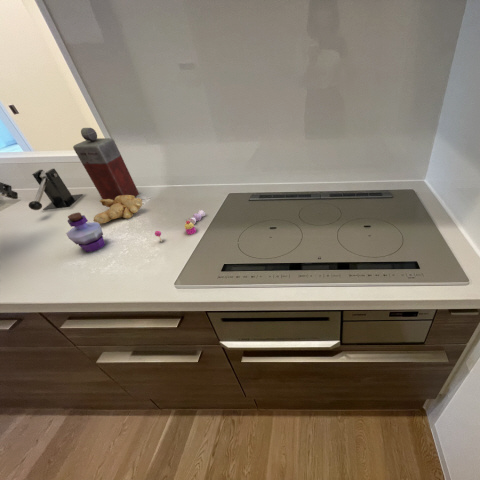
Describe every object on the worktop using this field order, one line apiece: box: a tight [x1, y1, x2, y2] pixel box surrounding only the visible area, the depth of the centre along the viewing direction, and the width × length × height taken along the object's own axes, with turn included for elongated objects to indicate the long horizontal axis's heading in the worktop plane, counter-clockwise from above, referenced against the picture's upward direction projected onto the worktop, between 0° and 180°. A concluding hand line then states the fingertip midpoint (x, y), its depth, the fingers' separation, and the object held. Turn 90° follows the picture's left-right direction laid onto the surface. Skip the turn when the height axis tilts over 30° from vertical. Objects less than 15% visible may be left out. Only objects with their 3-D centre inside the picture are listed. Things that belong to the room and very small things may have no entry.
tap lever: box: [28, 170, 50, 211], centre depth 96 cm, size 17×3×3 cm, turn 13°
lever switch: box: [31, 168, 84, 211], centre depth 102 cm, size 11×9×14 cm
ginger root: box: [92, 195, 143, 225], centre depth 97 cm, size 16×16×8 cm
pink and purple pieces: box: [154, 209, 206, 242], centre depth 88 cm, size 18×8×6 cm, turn 163°
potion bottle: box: [65, 212, 106, 253], centre depth 79 cm, size 9×9×12 cm
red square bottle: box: [72, 127, 140, 200], centre depth 100 cm, size 9×11×28 cm
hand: (0, 197), depth 81 cm, fingers open, 8 cm apart
